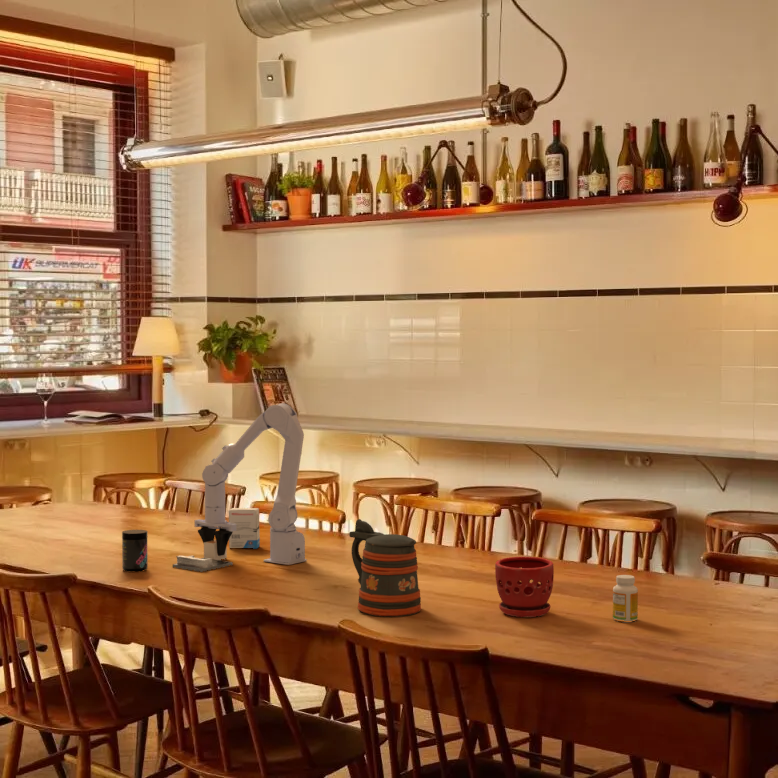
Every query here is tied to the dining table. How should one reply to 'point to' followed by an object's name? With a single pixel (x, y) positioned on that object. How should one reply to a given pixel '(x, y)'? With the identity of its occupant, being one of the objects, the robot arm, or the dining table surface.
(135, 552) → the supplement container
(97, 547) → the dining table surface
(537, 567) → the plant pot
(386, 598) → the beer stein
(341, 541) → the dining table surface
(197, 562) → the rail plate
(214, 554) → the block
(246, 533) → the ink box
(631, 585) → the supplement bottle
